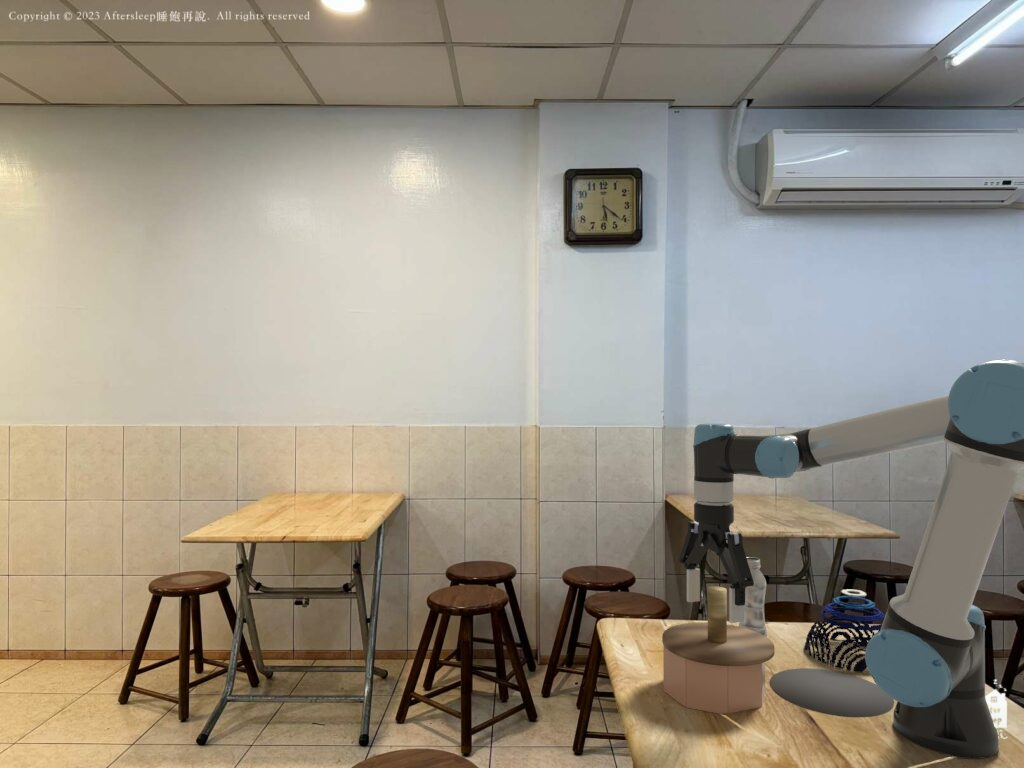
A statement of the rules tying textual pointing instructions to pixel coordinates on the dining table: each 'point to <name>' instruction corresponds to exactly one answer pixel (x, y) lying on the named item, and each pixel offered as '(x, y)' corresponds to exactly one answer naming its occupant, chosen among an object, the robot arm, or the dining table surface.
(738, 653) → the lid
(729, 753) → the dining table surface
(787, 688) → the mat
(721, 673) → the bowl
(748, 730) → the dining table surface
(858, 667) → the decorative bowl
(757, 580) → the plastic bottle
